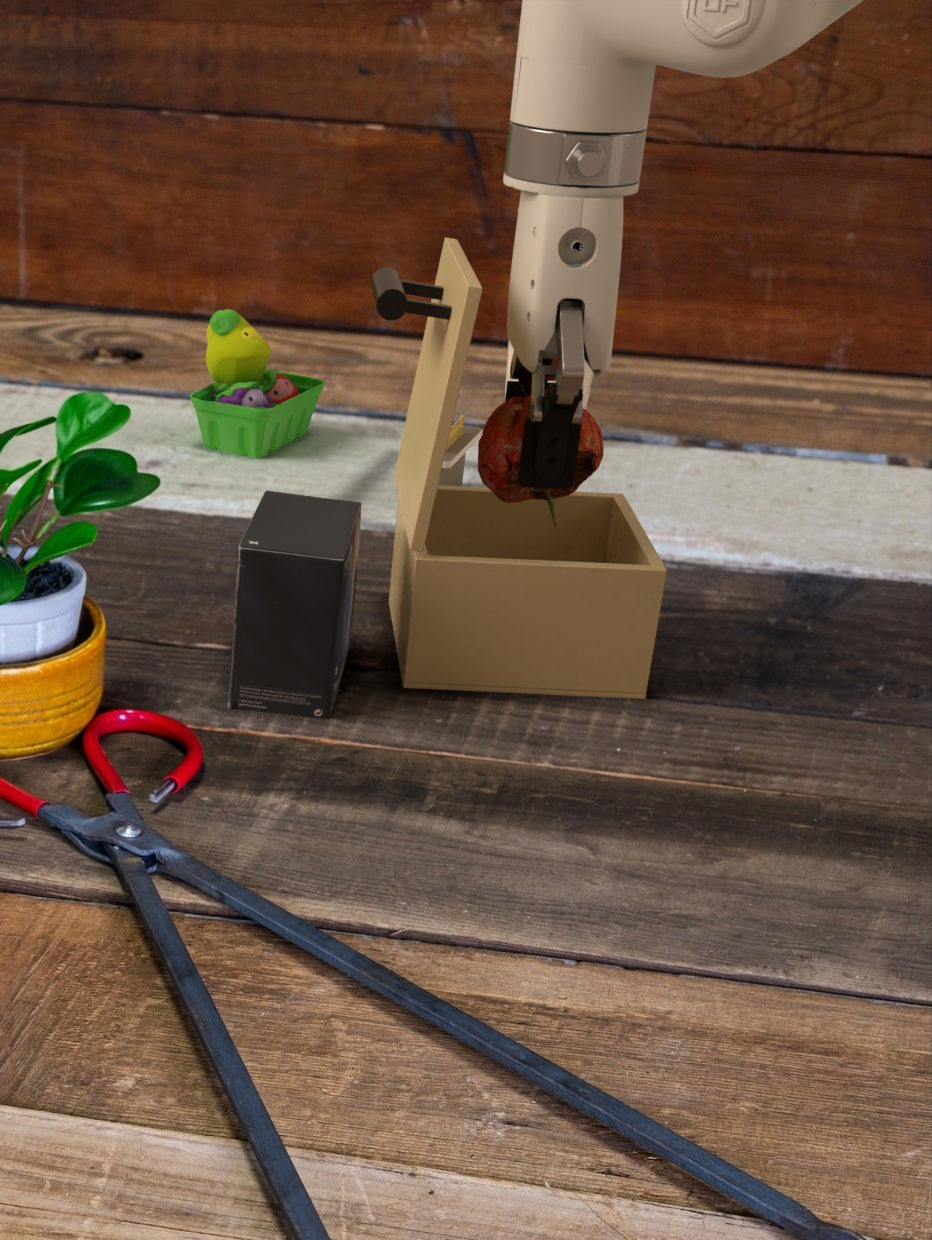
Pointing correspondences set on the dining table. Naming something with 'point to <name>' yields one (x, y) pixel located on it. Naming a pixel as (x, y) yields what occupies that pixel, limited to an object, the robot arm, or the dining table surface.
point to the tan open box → (527, 596)
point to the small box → (294, 604)
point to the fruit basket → (249, 392)
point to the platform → (457, 452)
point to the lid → (430, 375)
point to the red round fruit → (504, 450)
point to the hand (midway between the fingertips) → (535, 463)
